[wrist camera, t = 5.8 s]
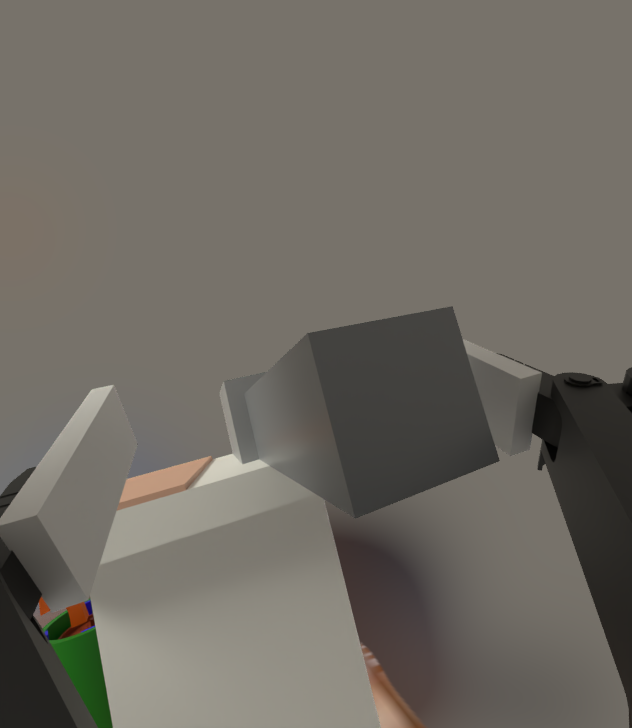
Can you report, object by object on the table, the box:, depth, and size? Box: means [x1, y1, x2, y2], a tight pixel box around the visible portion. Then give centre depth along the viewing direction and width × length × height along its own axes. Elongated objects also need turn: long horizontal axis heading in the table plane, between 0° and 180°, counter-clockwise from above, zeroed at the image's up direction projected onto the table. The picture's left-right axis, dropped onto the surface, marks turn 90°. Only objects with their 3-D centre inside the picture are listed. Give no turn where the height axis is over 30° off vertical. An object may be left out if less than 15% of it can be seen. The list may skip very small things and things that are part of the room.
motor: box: [39, 597, 113, 728], centre depth 38 cm, size 10×9×20 cm
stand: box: [90, 454, 381, 728], centre depth 20 cm, size 17×12×30 cm
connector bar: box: [220, 307, 499, 518], centre depth 18 cm, size 6×22×5 cm, turn 18°
